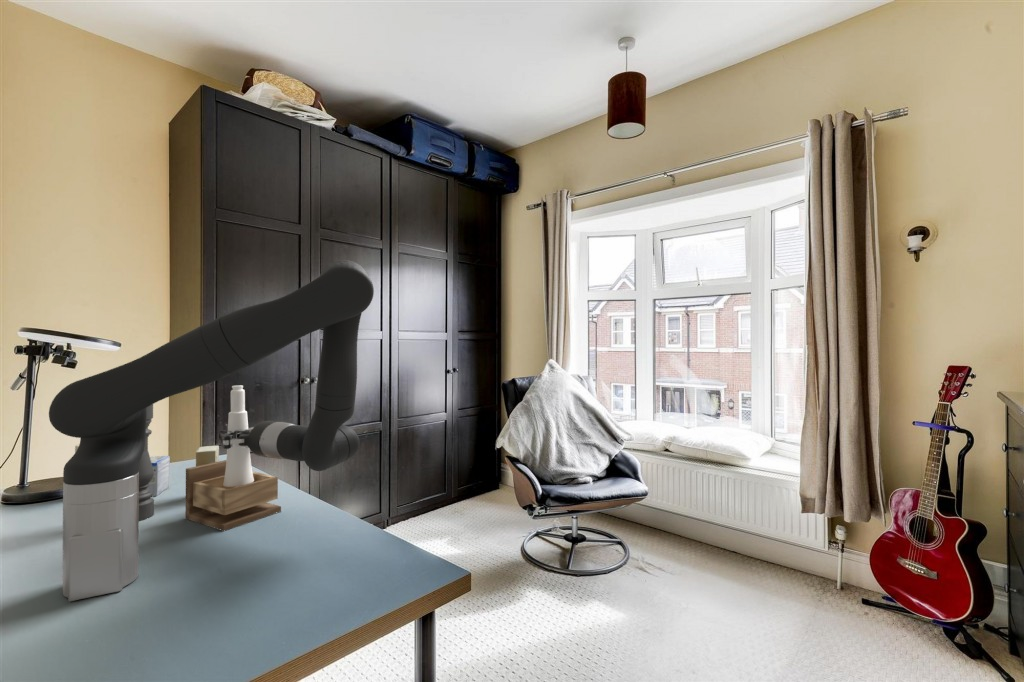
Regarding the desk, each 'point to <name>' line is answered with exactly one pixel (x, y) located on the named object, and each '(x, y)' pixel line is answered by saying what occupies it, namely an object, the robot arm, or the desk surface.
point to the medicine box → (159, 474)
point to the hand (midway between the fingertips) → (230, 433)
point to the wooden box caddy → (227, 497)
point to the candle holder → (146, 475)
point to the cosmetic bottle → (238, 456)
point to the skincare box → (207, 455)
